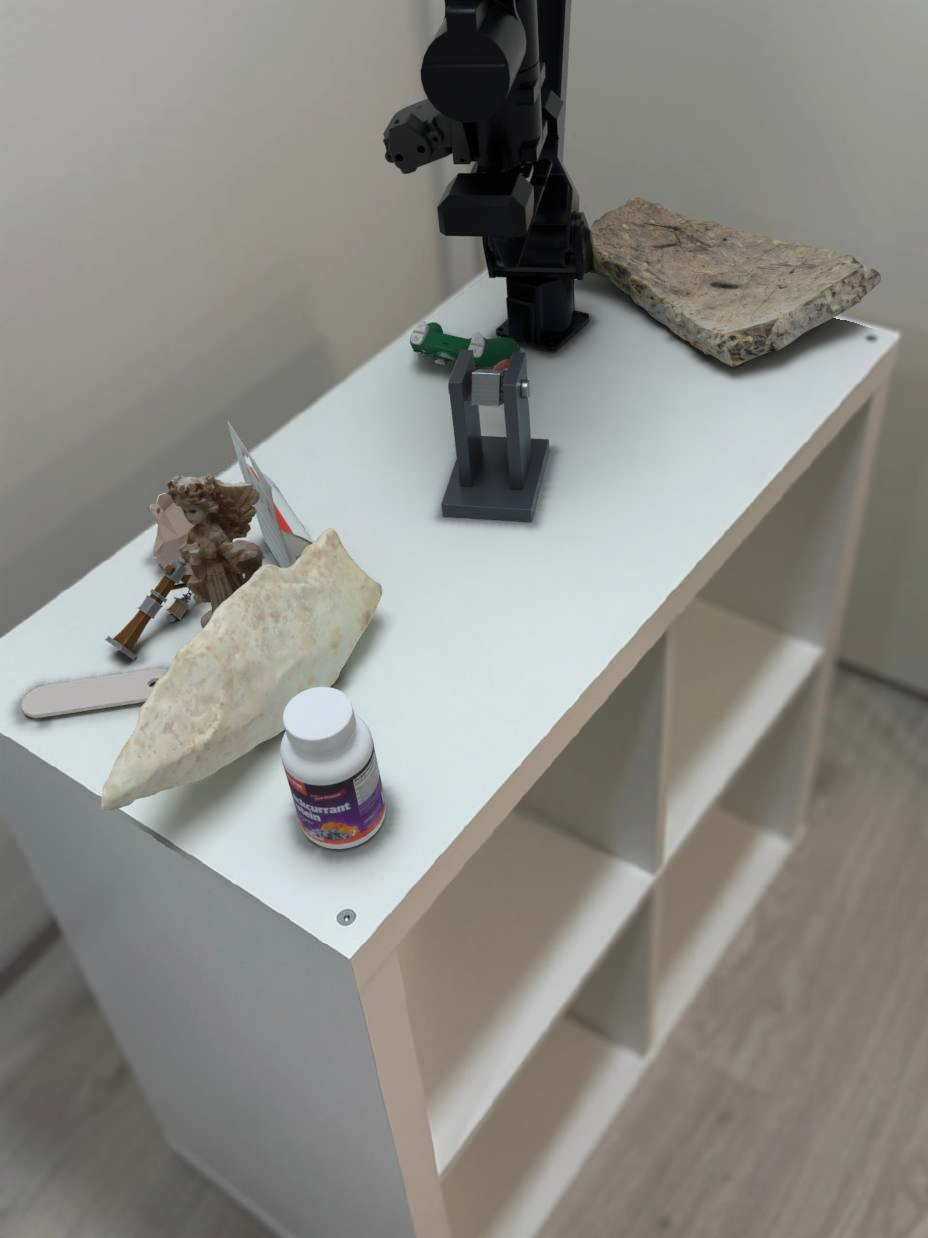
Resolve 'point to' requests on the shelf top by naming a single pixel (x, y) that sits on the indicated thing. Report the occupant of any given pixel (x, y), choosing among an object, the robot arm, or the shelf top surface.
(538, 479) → the bracket
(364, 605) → the arrowhead
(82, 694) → the keychain
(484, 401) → the lever
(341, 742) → the pill bottle
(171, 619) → the wooden post with brackets
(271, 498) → the ink box
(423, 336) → the gaming controller
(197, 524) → the figurine
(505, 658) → the shelf top surface
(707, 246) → the stone fragment
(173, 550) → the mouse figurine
